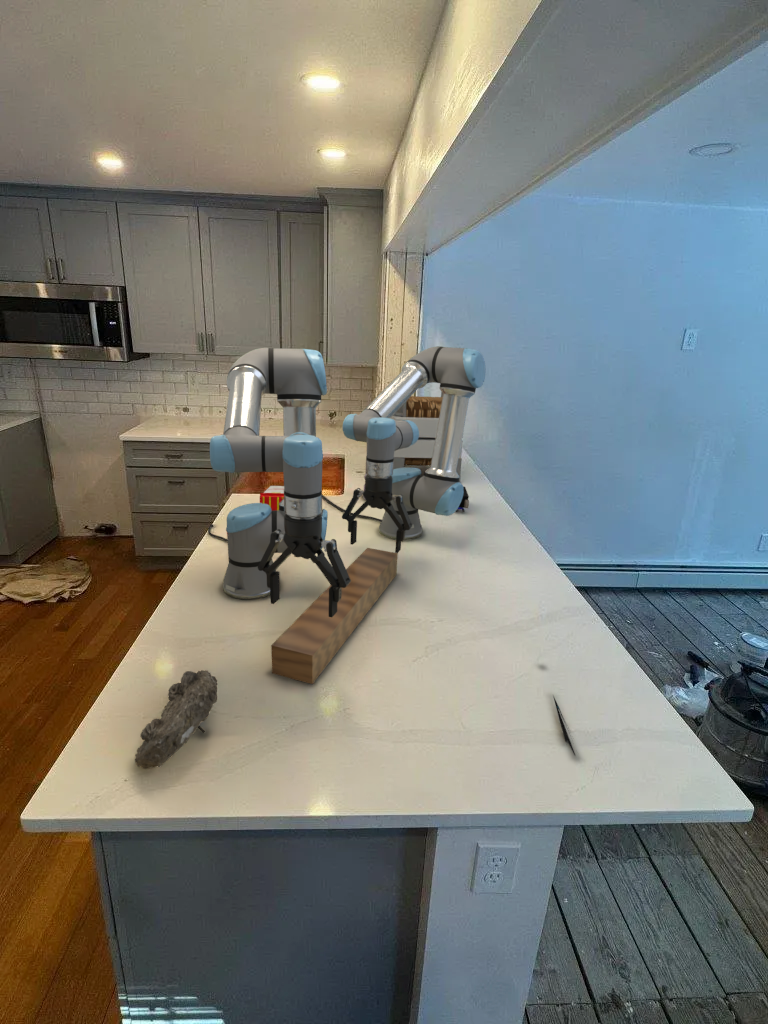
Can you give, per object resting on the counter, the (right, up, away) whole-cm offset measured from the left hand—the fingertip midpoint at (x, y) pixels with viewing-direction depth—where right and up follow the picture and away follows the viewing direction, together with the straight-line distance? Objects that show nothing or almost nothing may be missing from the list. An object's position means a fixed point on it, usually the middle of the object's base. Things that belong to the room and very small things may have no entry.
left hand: (303, 607), depth 120 cm
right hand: (+15, +10, +41) cm, 45 cm away
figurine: (+12, +26, +116) cm, 119 cm away
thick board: (+7, -6, +25) cm, 27 cm away
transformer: (+34, +39, +155) cm, 163 cm away
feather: (+52, -19, -5) cm, 56 cm away
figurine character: (+47, +22, +108) cm, 120 cm away
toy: (-22, +18, +89) cm, 93 cm away
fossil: (-20, -20, -16) cm, 32 cm away
